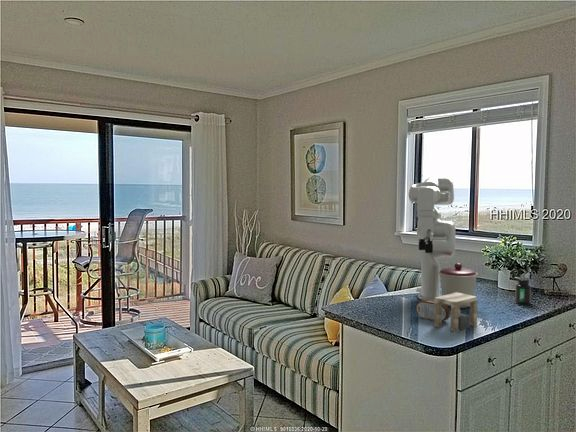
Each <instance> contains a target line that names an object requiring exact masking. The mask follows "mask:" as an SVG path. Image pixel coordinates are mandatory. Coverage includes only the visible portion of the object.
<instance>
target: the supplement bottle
mask: <svg viewBox="0 0 576 432" xmlns="http://www.w3.org/2000/svg"><path fill="white" fill-rule="evenodd" d="M514 295H515V298H514V299H515V300H514V301H515V303H516V304H518V305H524V306H529V305H531V303H532V286H531V285H530V280H529V279H528V278H517V284H515V294H514Z"/></svg>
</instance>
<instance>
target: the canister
mask: <svg viewBox="0 0 576 432" xmlns="http://www.w3.org/2000/svg"><path fill="white" fill-rule="evenodd" d="M439 274H440V289H441V295H442V296H443V295H447V294H451V293H455V292H458V293H462V294H467V295H472V296H475V291H476V283H477V277H478V276H479V273H478V272H476V271H475V270H474V269H470V268H467V267H466V268H465V267H463V265H462V263H460V262H455V264H454V265H453V267H444V268H442V269H440V271H439ZM446 305H447V306H448V307H450V308H451V305H449V304H446ZM465 308H470V302H469V303H465V304H461V305H460V309H465Z"/></svg>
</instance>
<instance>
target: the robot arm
mask: <svg viewBox="0 0 576 432" xmlns="http://www.w3.org/2000/svg"><path fill="white" fill-rule="evenodd" d="M454 199H455V191H454V183H453V180H452V179H451V178H450V177H448V176H438V177H435V176H432V177H428V178H426V179H425V180H424V181H423V182H418V183H415V184H413V185H411V186H410V187H409V190H408V200H409V201H410V202H411V203H414V204H415V203H417V204H416V205H417V207H416V208H417V209H416V211H417V213H416V217H417V223H416V225H417V226H416V237H417V239H418V251H419V252H420V260H421V261H420V262H421V263H420V264H421V265H420V266H421V267H420V268H421V269H420V273H421V274H420V287H417V288H416V289H415V292H417V293H419V294H418V295H417V298H418V299H419V300H423V299H426V300H431V301H435V297H439V296H442V294H441V278H440V274H439V271H441V265H440V261H438V260H437V258H452V257H454V256H455V255H456V226H455V223H454V222H452V221H450V220H442V214H441V212H440V210H439V209H438V208H437V207H436V206H438V205H439V206H440V205H441V206H443V205H446V206H448V205H452V204H453V202H454Z"/></svg>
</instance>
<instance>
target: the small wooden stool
mask: <svg viewBox="0 0 576 432" xmlns="http://www.w3.org/2000/svg"><path fill="white" fill-rule="evenodd" d="M469 302H470V307H469V314H463V315H461V308H460V305H461V304H465V303H469ZM442 303H444V304H449V305H451V307H450V309H451V310H450V332H451V331H452V332H451V333H454V332H456V333H459V331H462V329H464V330H467V329H469V328H470V327H477V326H478V296H476V295H474V296H472V295H467V294H462V293H458V292H455V293H451V294H447V295H443V296H439V297H435V321H434V320H433V322H434V325H433V326H435V328H437V327H438V329H439V327H440V328H442V322H443V321H442ZM466 328H467V329H466ZM458 329H459V330H458Z"/></svg>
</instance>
